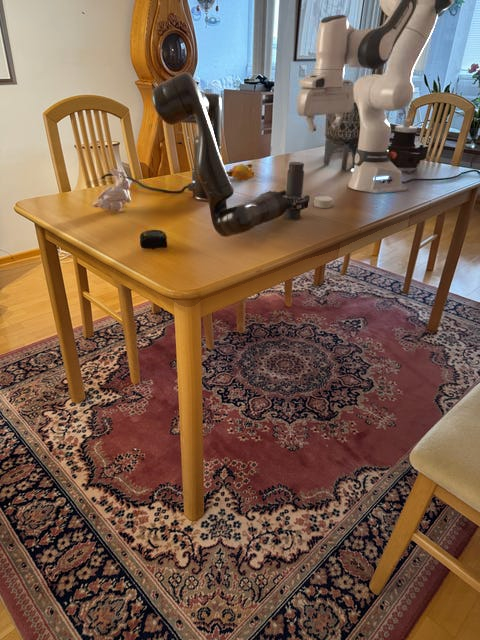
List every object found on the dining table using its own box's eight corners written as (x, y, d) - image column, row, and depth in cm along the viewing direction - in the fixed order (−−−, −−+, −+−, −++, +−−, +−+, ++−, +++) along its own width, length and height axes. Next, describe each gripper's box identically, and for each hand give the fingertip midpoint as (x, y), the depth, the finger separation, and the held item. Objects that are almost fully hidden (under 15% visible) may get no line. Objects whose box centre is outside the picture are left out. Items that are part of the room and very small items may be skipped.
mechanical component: (374, 119, 196) (402, 114, 215) (366, 169, 206) (394, 160, 226) (423, 124, 184) (449, 118, 203) (412, 177, 194) (437, 167, 214)
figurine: (140, 206, 149) (137, 167, 143) (105, 217, 138) (99, 175, 132) (123, 202, 153) (119, 163, 146) (87, 213, 142) (81, 171, 136)
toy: (223, 172, 179) (229, 164, 192) (228, 188, 182) (234, 178, 195) (249, 163, 176) (253, 155, 188) (254, 179, 179) (258, 170, 191)
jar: (301, 219, 141) (306, 164, 133) (286, 220, 140) (290, 165, 132) (298, 215, 145) (302, 161, 137) (283, 215, 145) (286, 161, 136)
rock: (345, 148, 251) (347, 136, 248) (358, 151, 246) (360, 138, 242) (330, 151, 244) (331, 138, 240) (343, 154, 238) (344, 141, 235)
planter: (313, 167, 208) (319, 103, 195) (331, 160, 222) (338, 101, 209) (353, 173, 199) (362, 107, 185) (369, 166, 213) (379, 104, 199)
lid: (333, 204, 156) (334, 197, 155) (328, 209, 152) (329, 201, 150) (316, 202, 158) (317, 195, 157) (311, 206, 154) (312, 199, 153)
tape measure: (140, 252, 115) (139, 238, 113) (141, 242, 120) (140, 229, 119) (167, 251, 116) (166, 237, 114) (167, 241, 121) (166, 228, 120)
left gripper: (289, 198, 124) (317, 187, 136) (247, 190, 132) (277, 180, 143) (287, 225, 128) (315, 212, 140) (247, 215, 135) (276, 203, 147)
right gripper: (346, 78, 142) (341, 126, 149) (295, 80, 133) (292, 131, 140) (361, 79, 138) (355, 128, 145) (308, 81, 128) (305, 134, 135)
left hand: (296, 195), depth 141 cm, fingers open, 8 cm apart
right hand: (324, 130), depth 142 cm, fingers open, 8 cm apart
